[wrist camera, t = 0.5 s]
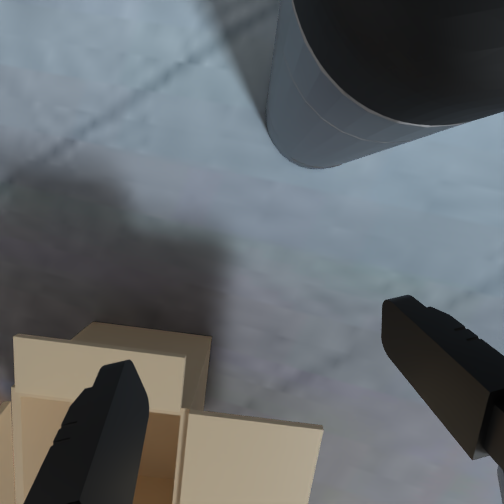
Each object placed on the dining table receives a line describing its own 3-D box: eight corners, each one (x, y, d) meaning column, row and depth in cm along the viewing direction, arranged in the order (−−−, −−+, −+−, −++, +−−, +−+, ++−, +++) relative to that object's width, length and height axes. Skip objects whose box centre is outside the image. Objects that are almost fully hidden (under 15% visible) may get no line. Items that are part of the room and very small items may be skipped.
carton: (93, 283, 28) (3, 335, 18) (306, 311, 29) (334, 376, 18) (89, 497, 34) (16, 629, 23) (268, 518, 34) (274, 657, 24)
